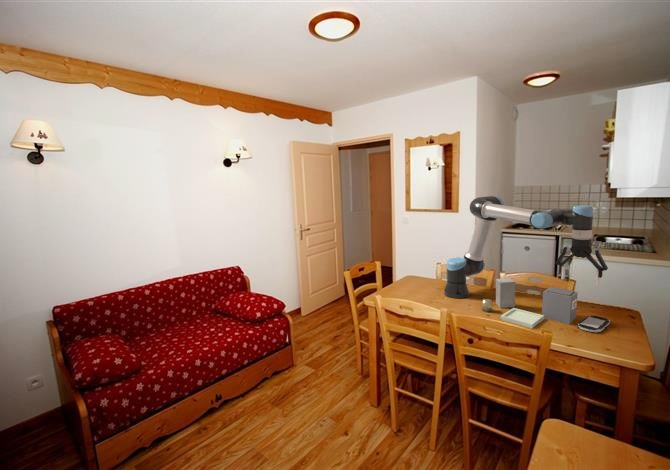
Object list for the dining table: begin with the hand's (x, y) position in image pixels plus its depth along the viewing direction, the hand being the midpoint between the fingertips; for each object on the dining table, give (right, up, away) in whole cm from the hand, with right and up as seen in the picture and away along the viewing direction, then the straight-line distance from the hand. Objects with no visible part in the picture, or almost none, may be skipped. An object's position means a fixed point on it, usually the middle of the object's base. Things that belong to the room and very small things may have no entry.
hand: (579, 281), depth 154 cm
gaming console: (+6, -22, -1) cm, 23 cm away
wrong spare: (-34, -20, +24) cm, 46 cm away
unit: (-3, -20, +9) cm, 23 cm away
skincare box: (-21, -19, +29) cm, 40 cm away
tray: (-22, -21, +10) cm, 32 cm away
